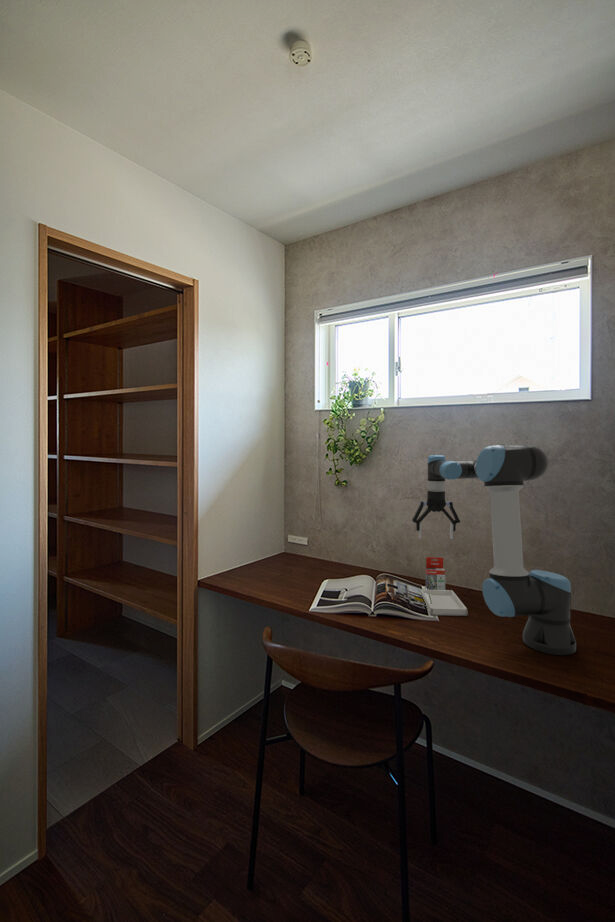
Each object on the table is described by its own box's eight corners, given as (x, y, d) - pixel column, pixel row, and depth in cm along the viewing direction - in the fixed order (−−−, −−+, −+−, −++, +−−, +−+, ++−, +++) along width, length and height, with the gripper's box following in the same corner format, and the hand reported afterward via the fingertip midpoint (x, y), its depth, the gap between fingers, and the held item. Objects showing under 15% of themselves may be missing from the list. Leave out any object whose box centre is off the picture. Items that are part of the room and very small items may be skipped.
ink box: (445, 592, 189) (445, 559, 189) (426, 592, 190) (427, 559, 190) (443, 589, 193) (443, 557, 193) (425, 589, 194) (425, 557, 193)
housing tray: (467, 615, 164) (467, 609, 163) (430, 615, 165) (430, 608, 164) (452, 596, 185) (452, 590, 185) (420, 595, 186) (420, 589, 186)
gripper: (462, 489, 193) (462, 536, 194) (406, 489, 195) (405, 536, 196) (467, 491, 185) (467, 540, 186) (408, 491, 187) (408, 539, 188)
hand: (435, 538), depth 191 cm, fingers open, 13 cm apart
